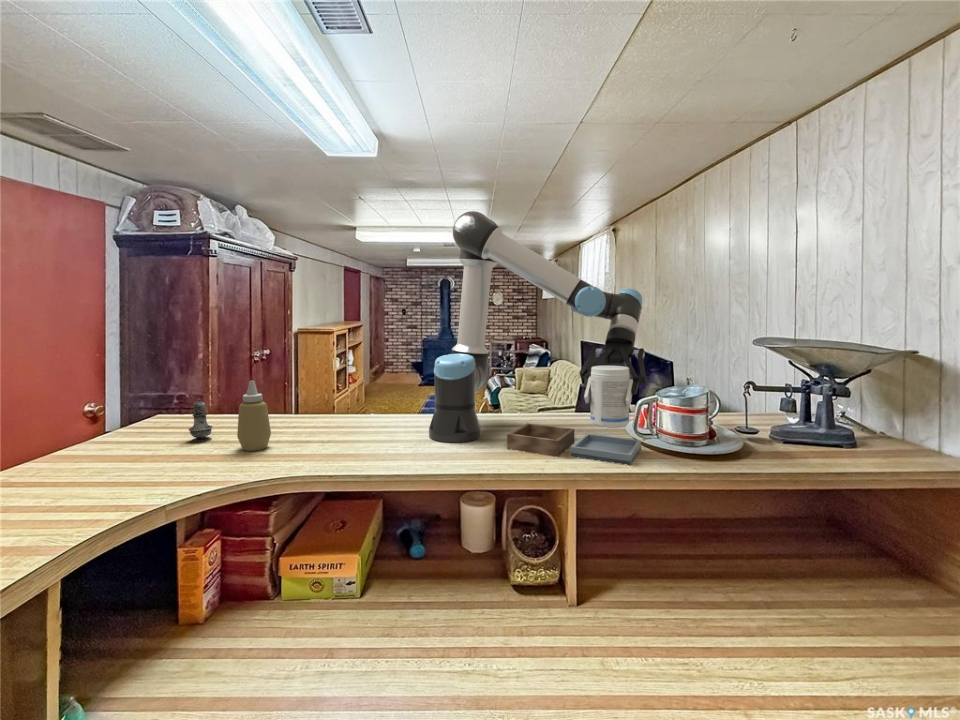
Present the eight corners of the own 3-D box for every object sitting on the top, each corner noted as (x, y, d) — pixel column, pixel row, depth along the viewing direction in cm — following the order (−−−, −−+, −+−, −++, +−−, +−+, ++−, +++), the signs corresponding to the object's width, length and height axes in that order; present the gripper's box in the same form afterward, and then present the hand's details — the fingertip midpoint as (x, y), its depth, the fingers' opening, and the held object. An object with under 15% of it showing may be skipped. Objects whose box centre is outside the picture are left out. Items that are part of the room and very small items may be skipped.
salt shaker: (184, 441, 131) (181, 399, 130) (203, 436, 137) (201, 395, 136) (199, 444, 129) (196, 400, 128) (218, 438, 135) (215, 397, 133)
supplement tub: (635, 424, 121) (637, 367, 119) (616, 431, 114) (618, 370, 113) (602, 418, 128) (603, 364, 126) (582, 424, 121) (583, 367, 120)
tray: (570, 456, 119) (570, 446, 119) (586, 442, 132) (586, 433, 132) (630, 465, 112) (630, 455, 112) (640, 449, 125) (641, 440, 125)
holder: (507, 449, 125) (507, 434, 125) (527, 436, 138) (527, 423, 137) (557, 456, 119) (558, 441, 118) (574, 443, 131) (574, 428, 131)
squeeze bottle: (276, 448, 126) (274, 380, 124) (245, 454, 120) (241, 384, 118) (264, 442, 131) (261, 377, 129) (233, 448, 125) (229, 381, 123)
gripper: (665, 345, 128) (654, 414, 115) (584, 343, 138) (566, 406, 126) (663, 326, 122) (652, 396, 110) (579, 325, 133) (560, 389, 120)
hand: (606, 401), depth 118 cm, fingers closed on supplement tub, 9 cm apart
